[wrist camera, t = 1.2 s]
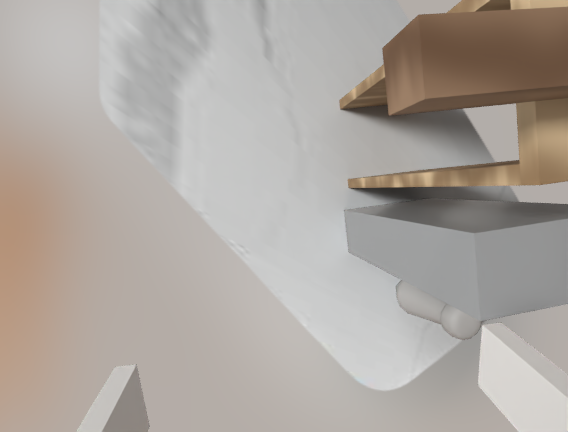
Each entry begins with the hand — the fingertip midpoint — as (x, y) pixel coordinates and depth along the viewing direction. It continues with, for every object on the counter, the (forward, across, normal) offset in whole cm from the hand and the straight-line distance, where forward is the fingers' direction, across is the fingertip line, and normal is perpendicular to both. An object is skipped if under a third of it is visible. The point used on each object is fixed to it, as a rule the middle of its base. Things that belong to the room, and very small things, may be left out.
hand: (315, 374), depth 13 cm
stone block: (+35, +16, -5) cm, 39 cm away
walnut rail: (+7, +16, +11) cm, 20 cm away
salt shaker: (+34, +19, -15) cm, 42 cm away
